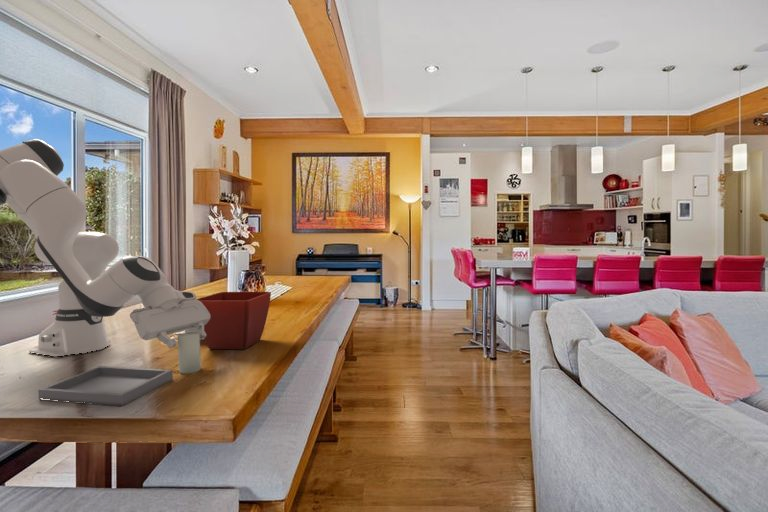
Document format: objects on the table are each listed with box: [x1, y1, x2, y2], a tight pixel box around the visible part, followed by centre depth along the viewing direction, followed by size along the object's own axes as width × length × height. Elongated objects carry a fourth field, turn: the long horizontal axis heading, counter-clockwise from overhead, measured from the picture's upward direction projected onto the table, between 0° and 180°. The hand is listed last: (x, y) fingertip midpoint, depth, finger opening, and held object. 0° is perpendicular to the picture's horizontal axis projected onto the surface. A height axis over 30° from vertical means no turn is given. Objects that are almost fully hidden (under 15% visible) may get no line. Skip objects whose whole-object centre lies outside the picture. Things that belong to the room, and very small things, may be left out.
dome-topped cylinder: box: [176, 332, 202, 374], centre depth 109 cm, size 6×6×10 cm
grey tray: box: [37, 365, 173, 407], centre depth 96 cm, size 22×16×2 cm
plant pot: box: [196, 291, 272, 350], centre depth 133 cm, size 19×19×17 cm
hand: (189, 341), depth 108 cm, fingers open, 8 cm apart
